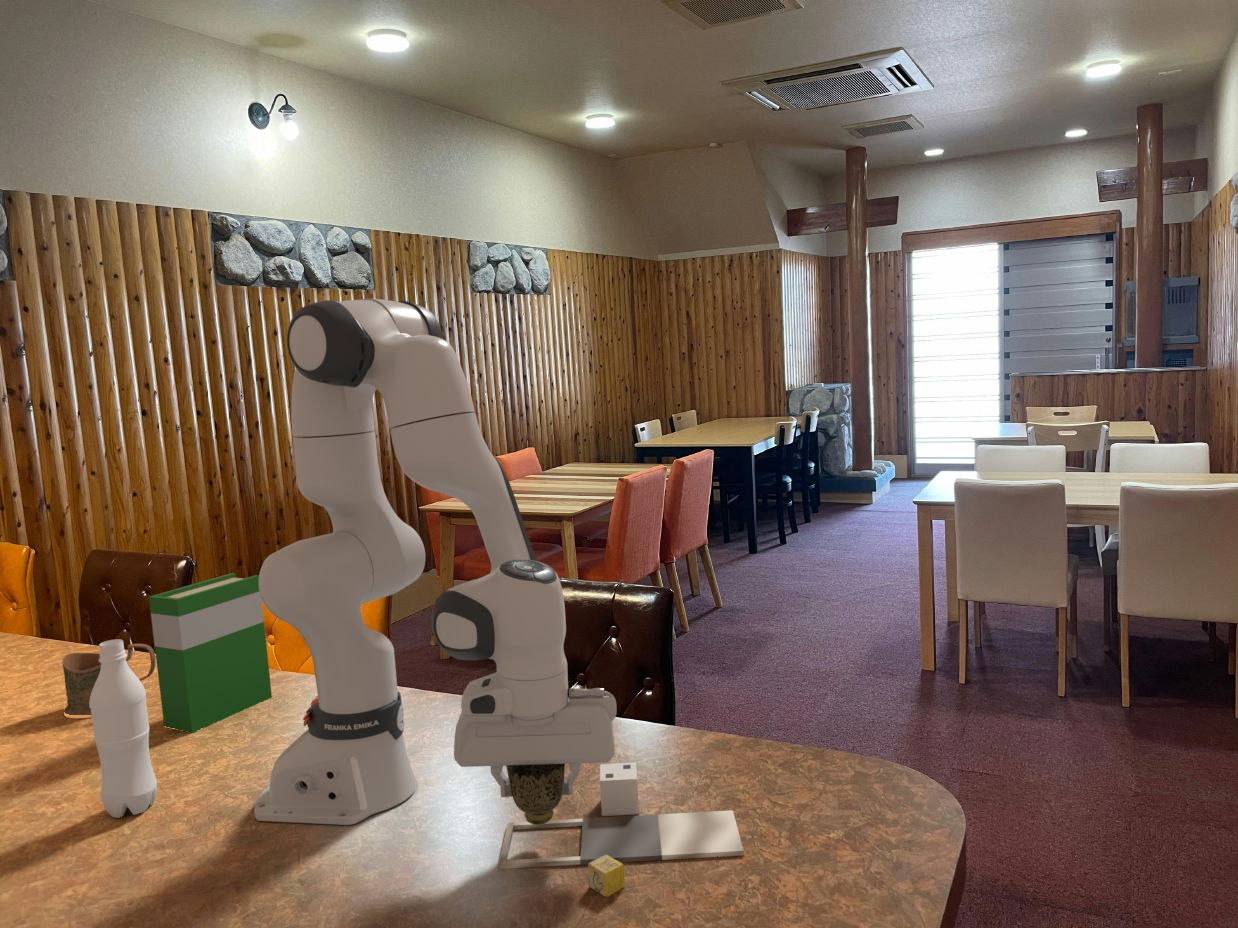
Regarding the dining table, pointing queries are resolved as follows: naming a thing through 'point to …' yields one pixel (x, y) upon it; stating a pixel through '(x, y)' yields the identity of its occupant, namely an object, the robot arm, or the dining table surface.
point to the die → (619, 789)
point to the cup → (536, 789)
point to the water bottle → (122, 734)
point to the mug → (88, 677)
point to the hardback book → (210, 650)
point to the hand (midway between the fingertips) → (537, 793)
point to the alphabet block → (606, 875)
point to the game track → (640, 838)
